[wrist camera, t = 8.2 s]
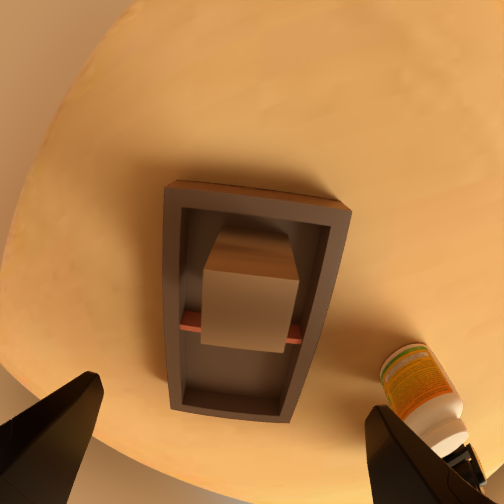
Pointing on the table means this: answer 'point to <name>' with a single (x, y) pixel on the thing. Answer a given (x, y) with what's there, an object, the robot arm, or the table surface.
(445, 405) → the supplement bottle
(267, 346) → the walnut block
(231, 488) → the table surface
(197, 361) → the tray
